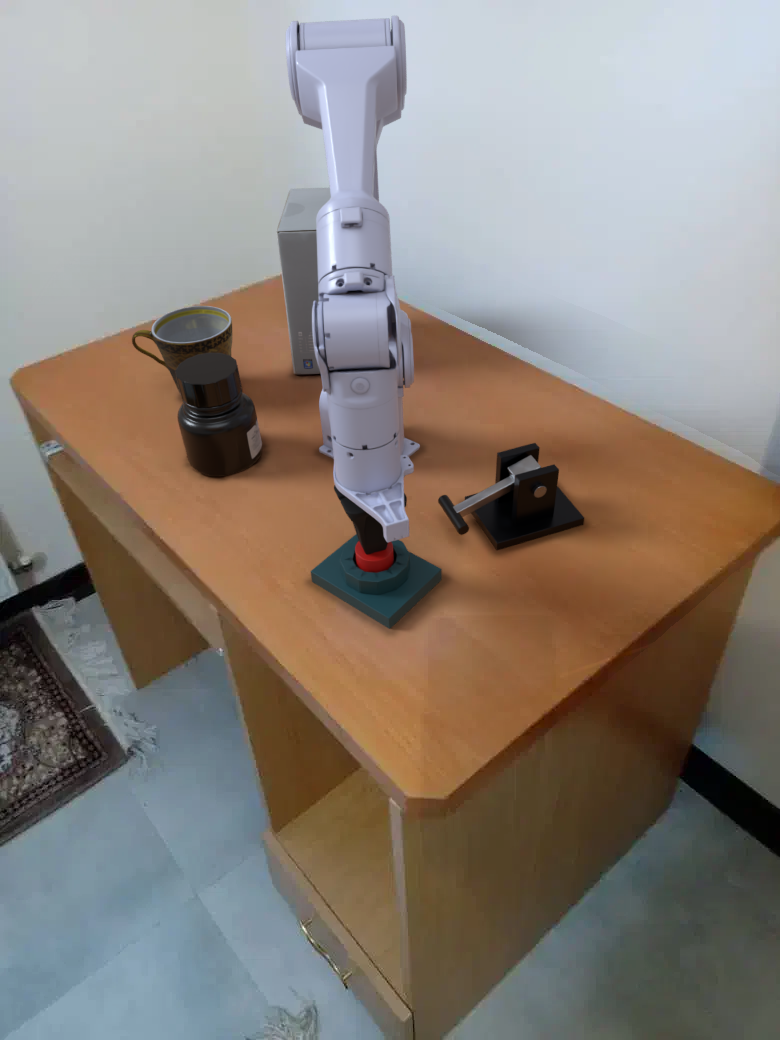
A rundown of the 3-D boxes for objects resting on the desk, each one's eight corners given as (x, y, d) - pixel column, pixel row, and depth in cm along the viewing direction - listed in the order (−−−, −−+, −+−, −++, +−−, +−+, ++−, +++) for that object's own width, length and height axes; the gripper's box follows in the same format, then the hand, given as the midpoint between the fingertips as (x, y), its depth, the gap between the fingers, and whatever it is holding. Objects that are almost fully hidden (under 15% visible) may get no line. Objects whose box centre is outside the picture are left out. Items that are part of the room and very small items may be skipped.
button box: (312, 583, 78) (308, 557, 76) (365, 539, 83) (363, 513, 80) (389, 630, 73) (388, 605, 71) (441, 581, 78) (441, 555, 75)
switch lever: (461, 540, 79) (455, 525, 78) (441, 509, 83) (434, 494, 81) (553, 491, 80) (548, 475, 78) (528, 462, 83) (524, 446, 82)
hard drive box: (349, 375, 107) (336, 229, 94) (293, 377, 107) (273, 232, 94) (354, 321, 119) (344, 184, 106) (304, 322, 119) (287, 186, 106)
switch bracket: (496, 552, 80) (500, 496, 75) (464, 505, 86) (465, 451, 81) (583, 526, 83) (592, 471, 78) (546, 482, 88) (552, 428, 83)
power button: (348, 563, 76) (347, 550, 75) (373, 542, 78) (372, 529, 77) (377, 579, 74) (376, 566, 73) (401, 558, 76) (400, 545, 75)
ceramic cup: (248, 370, 109) (235, 303, 103) (240, 410, 102) (226, 341, 95) (154, 375, 109) (136, 308, 103) (139, 416, 102) (118, 346, 95)
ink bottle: (277, 462, 93) (262, 373, 85) (208, 490, 90) (185, 400, 82) (242, 424, 99) (225, 338, 91) (176, 449, 96) (152, 362, 88)
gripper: (443, 467, 62) (443, 587, 71) (380, 377, 72) (387, 492, 81) (358, 490, 60) (368, 610, 69) (306, 394, 70) (321, 509, 79)
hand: (374, 547), depth 75 cm, fingers closed, pressing on power button
